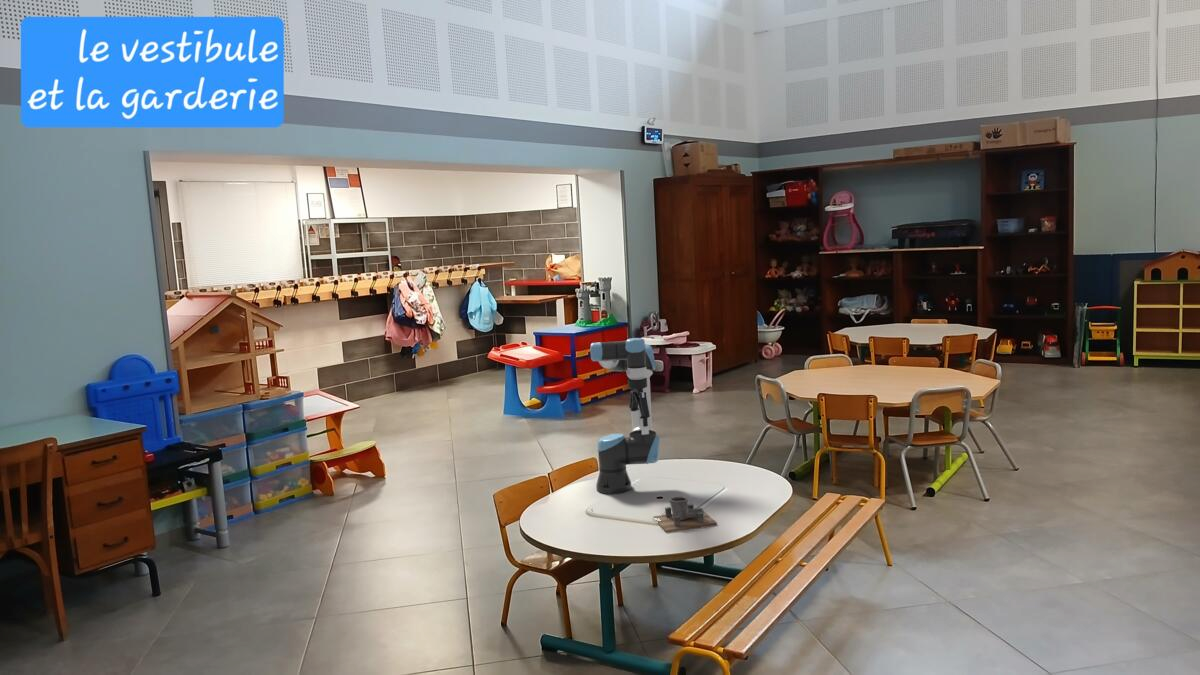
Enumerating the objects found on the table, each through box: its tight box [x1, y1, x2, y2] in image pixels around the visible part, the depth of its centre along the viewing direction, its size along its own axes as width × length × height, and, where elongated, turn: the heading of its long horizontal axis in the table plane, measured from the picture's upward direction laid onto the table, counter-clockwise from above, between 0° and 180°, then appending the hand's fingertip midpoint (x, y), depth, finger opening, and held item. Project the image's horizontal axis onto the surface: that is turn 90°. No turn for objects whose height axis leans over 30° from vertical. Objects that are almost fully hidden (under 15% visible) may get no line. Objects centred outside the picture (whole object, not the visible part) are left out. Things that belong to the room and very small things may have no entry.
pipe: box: [668, 496, 704, 520], centre depth 325 cm, size 6×13×8 cm, turn 80°
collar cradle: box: [652, 503, 718, 533], centre depth 325 cm, size 16×20×4 cm
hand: (640, 430), depth 340 cm, fingers open, 13 cm apart
